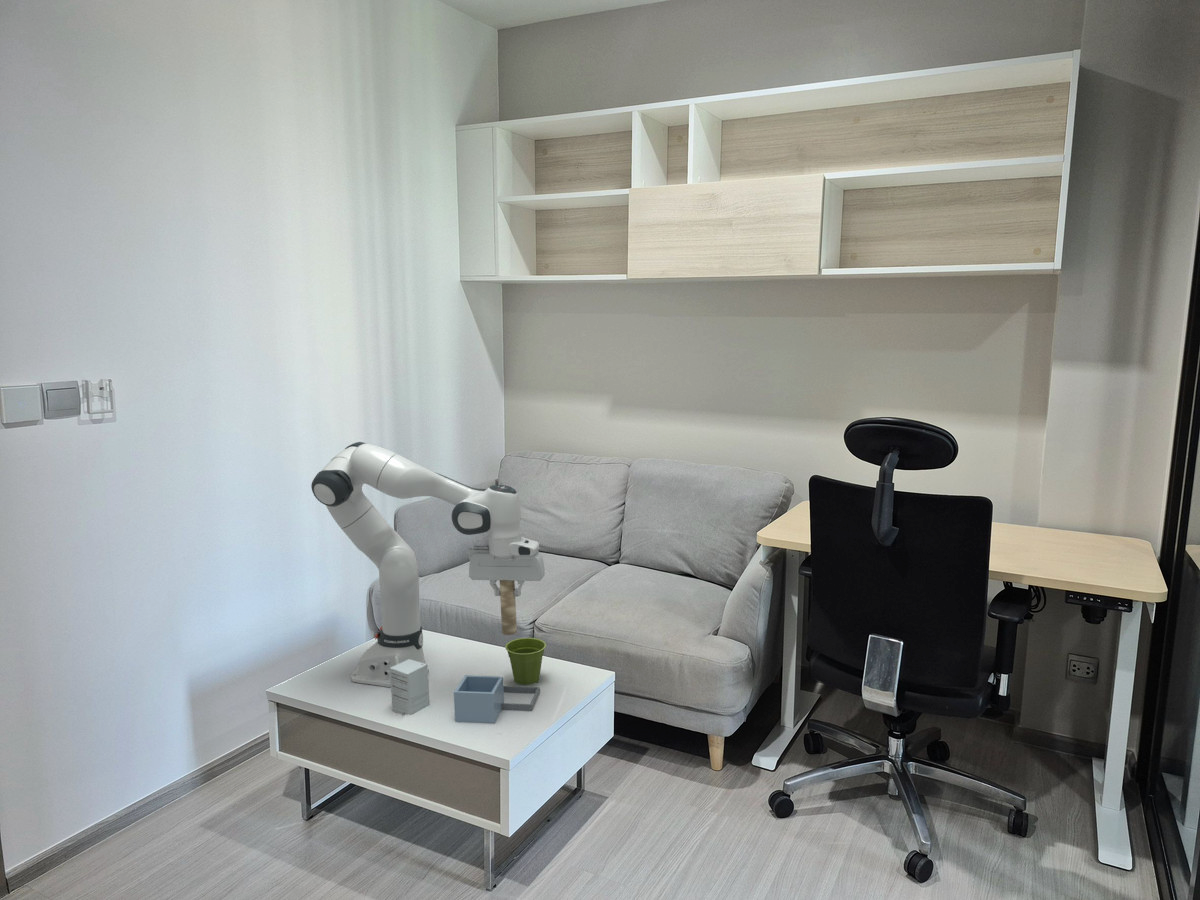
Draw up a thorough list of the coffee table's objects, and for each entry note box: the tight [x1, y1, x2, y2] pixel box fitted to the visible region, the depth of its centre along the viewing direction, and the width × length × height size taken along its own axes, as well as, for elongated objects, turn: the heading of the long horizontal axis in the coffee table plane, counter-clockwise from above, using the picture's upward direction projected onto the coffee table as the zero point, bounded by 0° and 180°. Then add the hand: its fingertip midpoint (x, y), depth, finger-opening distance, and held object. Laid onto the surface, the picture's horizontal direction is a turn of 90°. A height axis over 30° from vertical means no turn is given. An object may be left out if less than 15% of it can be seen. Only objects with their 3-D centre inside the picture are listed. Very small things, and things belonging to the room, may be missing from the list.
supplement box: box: [390, 659, 430, 716], centre depth 228 cm, size 7×7×13 cm
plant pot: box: [504, 637, 547, 686], centre depth 244 cm, size 12×12×11 cm
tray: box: [501, 685, 541, 712], centre depth 231 cm, size 11×11×2 cm
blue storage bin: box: [453, 674, 505, 725], centre depth 223 cm, size 11×11×9 cm
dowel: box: [498, 580, 518, 636], centre depth 225 cm, size 4×4×15 cm
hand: (507, 595), depth 225 cm, fingers closed on dowel, 4 cm apart
